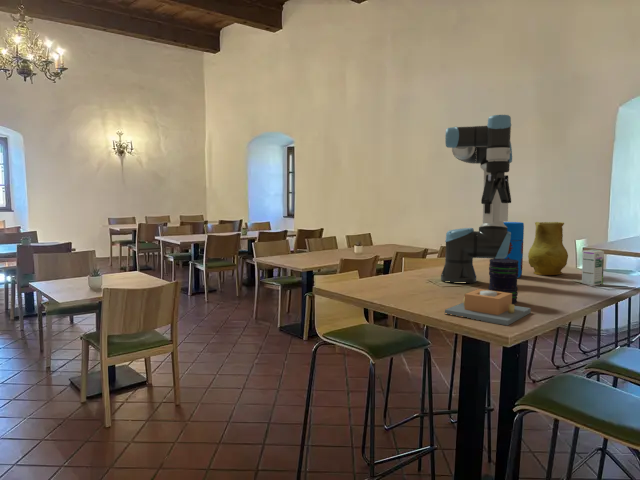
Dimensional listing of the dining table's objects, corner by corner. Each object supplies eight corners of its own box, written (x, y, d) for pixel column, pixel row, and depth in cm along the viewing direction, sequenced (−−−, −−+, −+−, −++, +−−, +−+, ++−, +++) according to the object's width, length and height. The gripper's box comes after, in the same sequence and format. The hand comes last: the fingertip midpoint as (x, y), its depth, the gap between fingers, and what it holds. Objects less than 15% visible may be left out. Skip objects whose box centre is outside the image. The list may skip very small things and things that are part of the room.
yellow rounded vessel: (520, 271, 235) (522, 221, 232) (555, 270, 237) (557, 220, 234) (539, 277, 218) (542, 223, 215) (577, 276, 220) (580, 222, 217)
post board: (444, 314, 153) (445, 292, 152) (471, 303, 167) (472, 283, 167) (507, 325, 139) (508, 302, 139) (530, 312, 154) (531, 291, 153)
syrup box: (593, 285, 198) (595, 251, 196) (581, 283, 203) (582, 249, 202) (603, 284, 200) (604, 250, 198) (590, 282, 205) (591, 249, 204)
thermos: (519, 278, 215) (521, 223, 213) (495, 276, 221) (496, 222, 218) (523, 275, 224) (525, 222, 222) (499, 273, 230) (501, 221, 228)
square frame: (464, 309, 153) (464, 294, 152) (478, 303, 161) (479, 288, 160) (498, 315, 145) (498, 299, 145) (511, 308, 154) (512, 293, 153)
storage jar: (523, 303, 167) (525, 261, 165) (499, 305, 164) (501, 262, 162) (505, 297, 176) (506, 257, 175) (482, 299, 173) (483, 259, 172)
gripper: (494, 158, 152) (492, 224, 155) (521, 162, 171) (519, 220, 173) (471, 160, 157) (470, 223, 160) (501, 162, 176) (499, 220, 178)
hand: (496, 222), depth 166 cm, fingers open, 13 cm apart
